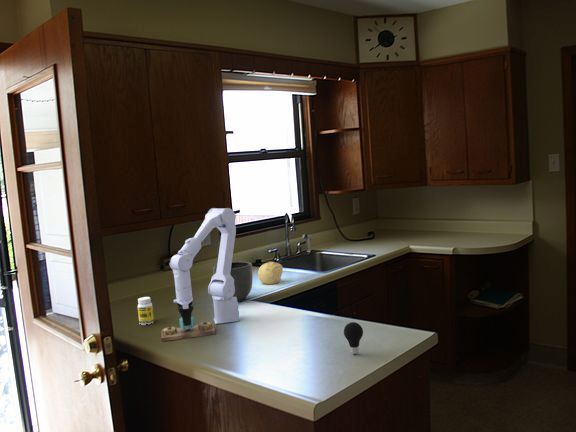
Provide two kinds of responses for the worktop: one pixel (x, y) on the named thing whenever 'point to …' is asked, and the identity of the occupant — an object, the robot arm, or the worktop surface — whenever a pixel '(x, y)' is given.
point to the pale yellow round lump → (270, 273)
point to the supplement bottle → (145, 311)
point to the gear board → (187, 331)
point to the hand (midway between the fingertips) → (187, 323)
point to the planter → (240, 279)
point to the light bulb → (353, 336)
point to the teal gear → (186, 326)
